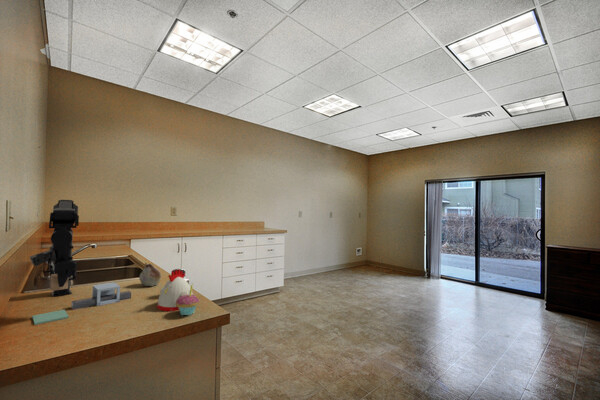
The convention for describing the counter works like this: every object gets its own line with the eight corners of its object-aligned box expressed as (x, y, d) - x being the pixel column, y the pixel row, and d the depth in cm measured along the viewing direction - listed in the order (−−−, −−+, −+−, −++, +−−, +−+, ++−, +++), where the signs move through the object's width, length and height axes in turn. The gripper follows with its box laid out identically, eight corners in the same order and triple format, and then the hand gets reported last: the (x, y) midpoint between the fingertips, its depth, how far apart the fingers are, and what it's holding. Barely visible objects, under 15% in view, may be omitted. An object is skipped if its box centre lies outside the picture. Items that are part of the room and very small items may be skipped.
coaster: (32, 317, 101) (32, 315, 101) (64, 311, 107) (64, 309, 107) (34, 325, 95) (34, 323, 95) (68, 317, 101) (68, 316, 101)
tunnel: (91, 300, 119) (92, 285, 119) (113, 296, 125) (114, 282, 125) (96, 306, 114) (97, 289, 114) (119, 301, 120) (120, 286, 120)
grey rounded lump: (134, 287, 141) (135, 263, 141) (147, 282, 150) (148, 259, 151) (152, 288, 139) (154, 264, 140) (164, 283, 149) (166, 261, 149)
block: (49, 288, 103) (50, 274, 103) (65, 286, 106) (66, 272, 106) (51, 290, 100) (52, 276, 100) (68, 288, 103) (68, 274, 103)
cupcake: (203, 311, 112) (204, 281, 112) (187, 319, 104) (189, 286, 104) (185, 308, 114) (187, 278, 115) (169, 315, 106) (171, 284, 107)
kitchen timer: (149, 307, 114) (151, 270, 114) (176, 298, 127) (177, 265, 127) (175, 313, 109) (177, 275, 109) (200, 302, 121) (201, 268, 122)
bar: (71, 308, 111) (71, 301, 111) (128, 297, 126) (129, 290, 126) (72, 310, 109) (73, 303, 109) (130, 299, 124) (131, 292, 124)
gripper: (29, 242, 104) (26, 284, 103) (35, 247, 91) (32, 295, 91) (67, 240, 112) (65, 279, 112) (78, 245, 100) (76, 289, 99)
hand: (59, 285), depth 103 cm, fingers closed on block, 4 cm apart
